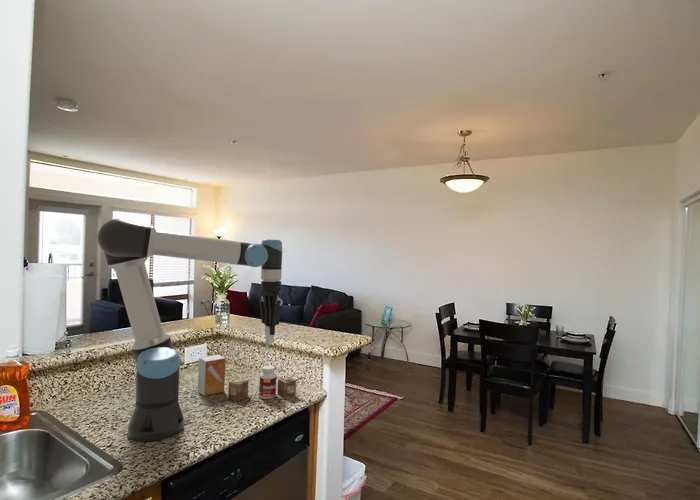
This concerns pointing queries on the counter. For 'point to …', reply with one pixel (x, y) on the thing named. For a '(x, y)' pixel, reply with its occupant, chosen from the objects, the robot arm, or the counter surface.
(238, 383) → the marked block left
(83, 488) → the counter surface
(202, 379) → the small box
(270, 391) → the pill bottle
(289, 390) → the marked block right
